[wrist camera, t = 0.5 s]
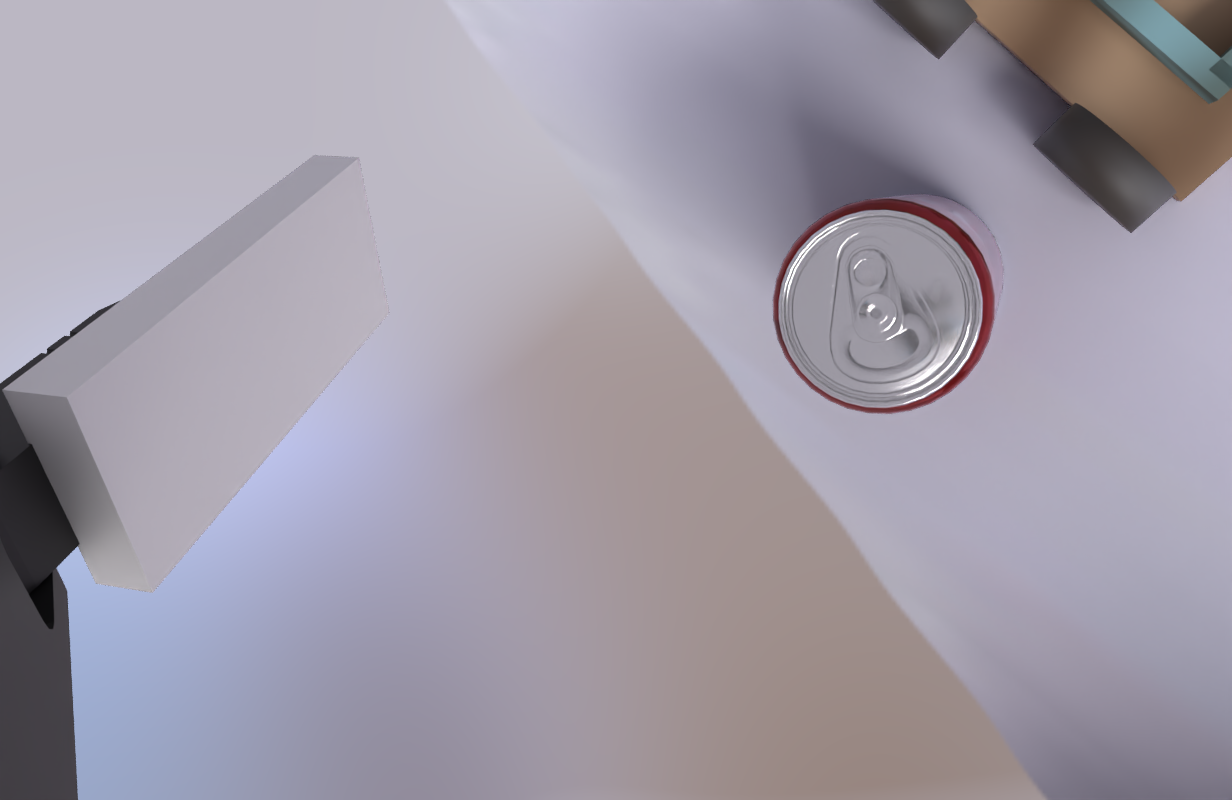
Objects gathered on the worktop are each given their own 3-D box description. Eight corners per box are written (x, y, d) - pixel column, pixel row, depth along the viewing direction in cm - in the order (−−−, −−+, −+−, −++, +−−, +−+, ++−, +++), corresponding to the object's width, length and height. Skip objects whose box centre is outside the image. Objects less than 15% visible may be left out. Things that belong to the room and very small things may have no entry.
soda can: (1010, 351, 42) (1003, 411, 31) (841, 365, 45) (781, 424, 34) (997, 181, 40) (984, 181, 30) (824, 207, 43) (755, 216, 33)
